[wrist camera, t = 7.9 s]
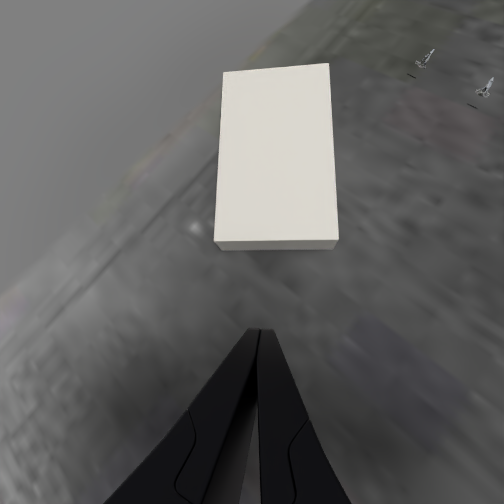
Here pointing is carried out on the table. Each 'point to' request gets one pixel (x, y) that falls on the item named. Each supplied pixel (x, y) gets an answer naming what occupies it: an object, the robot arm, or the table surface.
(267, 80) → the tile
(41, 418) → the table surface
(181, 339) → the table surface
